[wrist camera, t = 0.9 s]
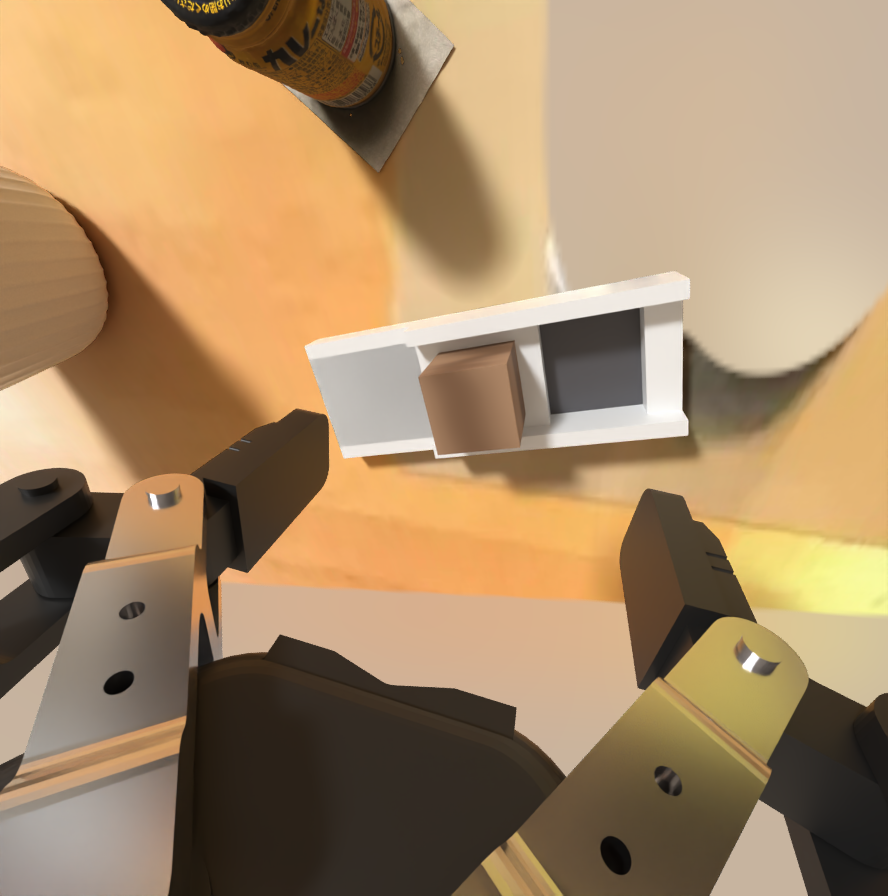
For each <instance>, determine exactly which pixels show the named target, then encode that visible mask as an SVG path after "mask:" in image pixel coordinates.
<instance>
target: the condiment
mask: <svg viewBox="0 0 888 896" xmlns="http://www.w3.org/2000/svg"><path fill="white" fill-rule="evenodd" d="M161 1H162V2H163V3H164V4H165V5H166V6H167V7H168V8H169V9H170V10H171V11H172V12H173V13H174V15H175V16H176V17H178V18H179V19H180V20H181V21H184V22H185V23H186V24H187V26H188V27H189V28H191V29H194V30H198V31H199V32H200V33H201V34H202V35H204V36H208V37H209V38H210V40H211V41H212V42H213V43H214V44H215V45H216V47H217V48H219V49H220V50H221V51H222V52H224V53H225V54H226V55H227V56H228V57H229V58H230V59H232V60H233V61H235V62H236V63H238V64H241V65H243V66H244V67H246V68H248V69H251V70H254V71H256V72H258V73H260V74H262V75H264V76H267V77H269V78H271V79H273V80H275V81H277V82H280V83H282V84H283V85H284V86H285V87H286V88H288V89H289V90H290V91H291V92H292V93H293V94H294V95H295V96H296V97H297V98H298V99H299V100H301V101H302V102H303V103H304V104H305V105H306V106H307V107H308V108H309V109H310V110H311V111H312V112H314V113H315V114H316V115H317V116H318V117H319V118H320V119H321V120H322V121H323V122H324V123H325V124H326V125H327V126H328V127H329V128H330V129H331V130H333V131H334V132H335V133H336V134H337V135H338V136H339V137H340V138H341V139H343V140H344V141H345V142H346V143H347V144H348V145H349V146H350V147H351V148H352V149H353V150H354V151H356V152H357V153H358V154H359V155H360V156H361V157H362V158H363V159H364V160H365V161H366V162H367V163H368V164H369V165H371V166H372V167H373V168H374V169H375V170H376V171H377V172H378V173H379V171H380V170H381V168H382V167H383V165H384V163H385V161H386V160H387V159H388V157H389V156H390V154H391V152H392V150H393V149H394V147H395V146H396V144H397V142H398V140H399V139H400V137H401V135H402V134H403V132H404V131H405V129H406V127H407V126H408V124H409V122H410V120H411V119H412V117H413V115H414V114H415V112H416V110H417V108H418V107H419V105H420V104H421V102H422V101H423V98H424V96H425V95H426V93H427V91H428V89H429V87H430V86H431V84H432V82H433V81H434V79H435V78H436V76H437V74H438V73H439V71H440V69H441V67H442V65H443V63H444V62H445V60H446V58H447V56H448V55H449V53H450V51H451V49H452V48H453V46H454V44H453V43H452V42H451V41H450V40H449V39H448V38H447V37H446V36H445V35H444V34H443V33H442V32H441V31H440V30H439V29H438V28H437V27H436V26H435V25H434V24H433V23H432V22H431V21H430V20H429V19H428V18H427V17H426V16H425V15H424V14H423V13H422V12H421V11H419V10H418V9H417V7H416V6H415V5H414V4H413V3H412V2H411V1H410V0H161ZM399 48H400V49H401V53H400V54H399V53H398V49H399ZM401 57H403V60H404V63H403V65H402V64H401ZM350 113H351V114H352V117H351V116H349V115H350Z"/></svg>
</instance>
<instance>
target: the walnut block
mask: <svg viewBox="0 0 888 896" xmlns="http://www.w3.org/2000/svg"><path fill="white" fill-rule="evenodd" d="M418 379H419V383H420V387H421V391H422V395H423V399H424V402H425V406H426V410H427V414H428V418H429V422H430V426H431V430H432V434H433V438H434V442H435V446H436V450H437V454H438V455H446V454H457V453H468V452H478V451H489V450H500V449H510V448H520V445H521V439H522V433H523V427H524V421H525V415H526V412H525V406H524V399H523V393H522V386H521V380H520V373H519V366H518V360H517V353H516V347H515V340H513V341H507V342H501V343H495V344H489V345H483V346H477V347H471V348H465V349H459V350H453V351H447V352H441V353H438V354H437V356H436V357H435V358H434V359H433V360H432V361H431V363H430V364H429V365H428V366H427V367H426V369H425V370H424V371H423V372H422V373H421V374H420V376H419V377H418Z"/></svg>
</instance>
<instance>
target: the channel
mask: <svg viewBox="0 0 888 896" xmlns="http://www.w3.org/2000/svg"><path fill="white" fill-rule="evenodd" d="M686 299H690V279H689V278H687V277H685V276H683V275H681V274H679V273H677V272H676V271H673V272H668V273H662V274H657V275H652V276H647V277H641V278H636V279H631V280H626V281H620V282H616V283H610V284H605V285H599V286H595V287H589V288H584V289H579V290H573V291H568V292H563V293H557V294H552V295H547V296H542V297H536V298H531V299H526V300H521V301H516V302H510V303H505V304H500V305H495V306H489V307H484V308H479V309H474V310H468V311H463V312H458V313H453V314H447V315H442V316H437V317H432V318H426V319H421V320H416V321H411V322H406V323H400V324H395V325H390V326H385V327H379V328H374V329H369V330H364V331H358V332H353V333H348V334H343V335H337V336H332V337H327V338H322V339H317V340H315V341H313V342H312V343H310V344H308V345H306V346H304V347H305V350H306V352H307V355H308V358H309V361H310V364H311V367H312V369H313V372H314V375H315V378H316V381H317V384H318V386H319V389H320V392H321V395H322V398H323V401H324V403H325V406H326V409H327V412H328V415H329V418H330V420H331V423H332V426H333V429H334V432H335V435H336V437H337V440H338V443H339V446H340V449H341V452H342V454H343V457H344V458H353V457H363V456H373V455H383V454H394V453H404V452H414V451H424V450H433V451H434V454H435V458H436V459H437V458H448V457H459V456H470V455H481V454H492V453H503V452H514V451H525V450H535V449H546V448H557V447H568V446H579V445H590V444H601V443H612V442H623V441H633V440H644V439H655V438H666V437H677V436H688V419H687V417H686V416H685V414H684V412H683V411H682V381H683V300H686ZM513 340H515V347H516V353H517V360H518V366H519V373H520V380H521V386H522V393H523V399H524V406H525V412H526V415H525V421H524V427H523V433H522V439H521V445H520V448H510V449H500V450H489V451H478V452H468V453H457V454H446V455H438V454H437V450H436V446H435V442H434V438H433V434H432V430H431V426H430V422H429V418H428V414H427V410H426V406H425V402H424V399H423V395H422V391H421V387H420V383H419V379H418V377H419V376H420V374H421V373H422V372H423V371H424V370H425V369H426V367H427V366H428V365H429V364H430V363H431V361H432V360H433V359H434V358H435V357H436V356H437V354H438V353H441V352H447V351H453V350H459V349H465V348H471V347H477V346H483V345H489V344H495V343H501V342H507V341H513Z"/></svg>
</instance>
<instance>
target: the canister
mask: <svg viewBox="0 0 888 896" xmlns="http://www.w3.org/2000/svg"><path fill="white" fill-rule="evenodd" d="M103 271H104V269H103V268H102V266H101V264H100V262H99V256H98V255H97V254H96V252H95V250H94V248H93V246H92V242H91V241H90V240H89V239H88V238H87V236H86V234H85V231H84V229H83V228H82V227H80V226H79V224H78V223H77V222H76V220H75V218H74V216H73V215H72V214H70V213H69V212H67V210H66V209H65V207H64V206H63V204H62V203H60V202H59V201H57V200H56V199H54V198H53V196H52V195H51V194H50V193H49V192H48V191H46V190H45V189H43V188H41V187H39V186H38V185H37V184H36V183H34V182H33V181H32V180H30V179H28V178H26V177H24V176H21V175H19V174H18V173H16V172H14V171H12V170H10V169H8V168H5V167H3V166H0V391H1V390H3V389H5V388H8V387H10V386H12V385H14V384H16V383H19V382H21V381H23V380H25V379H27V378H29V377H31V376H34V375H36V374H38V373H40V372H42V371H44V370H46V369H48V368H50V367H52V366H54V365H57V364H59V363H61V362H63V361H65V360H67V359H69V358H71V357H73V356H75V355H77V354H78V353H80V352H81V351H83V350H84V349H85V348H86V347H87V346H88V345H90V344H91V343H92V342H93V341H94V340H95V339H96V337H97V335H98V334H99V333H100V331H101V330H102V328H103V323H104V322H105V320H106V318H107V314H106V311H107V309H108V302H107V298H108V295H109V294H108V292H107V289H106V284H107V281H106V280H105V277H104V273H103Z"/></svg>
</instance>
